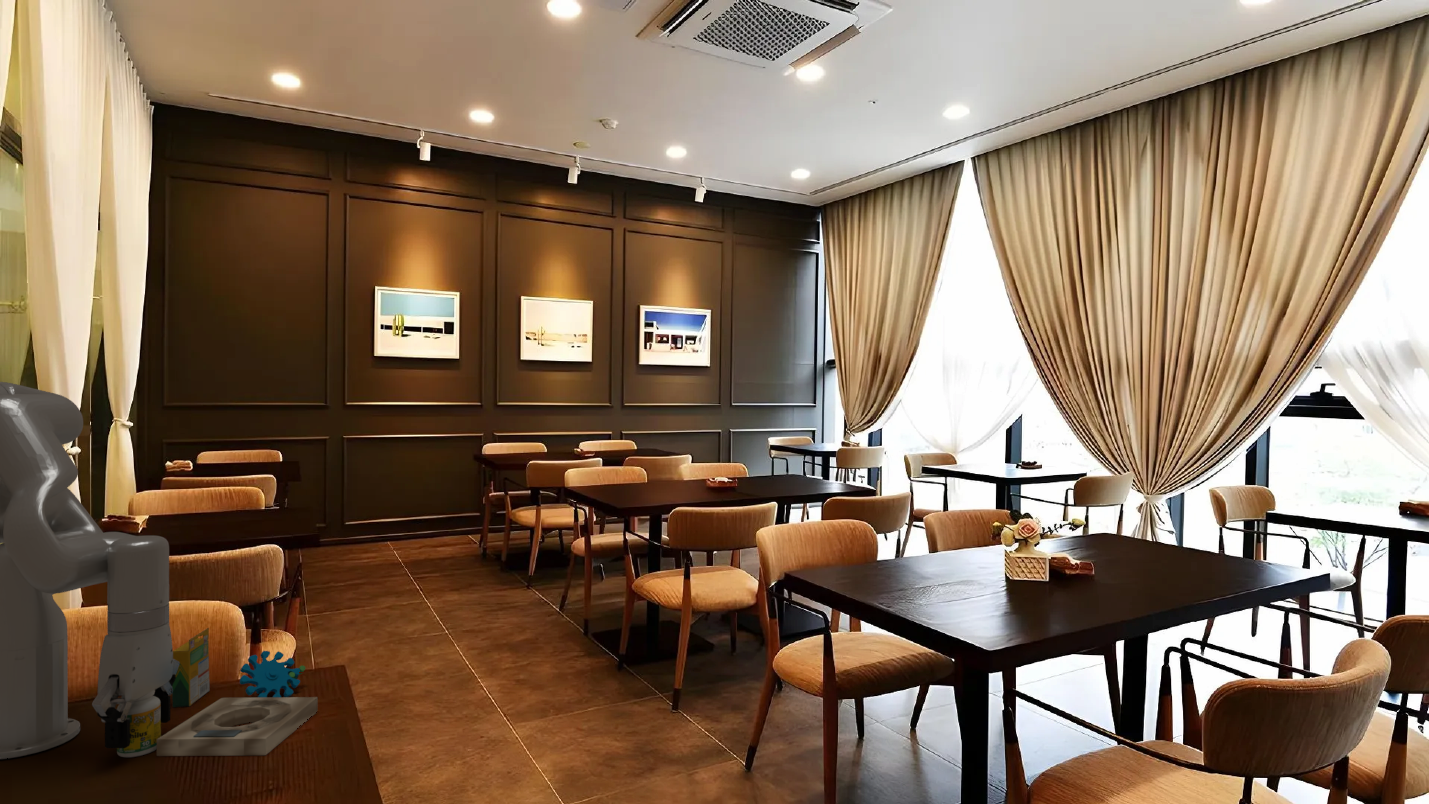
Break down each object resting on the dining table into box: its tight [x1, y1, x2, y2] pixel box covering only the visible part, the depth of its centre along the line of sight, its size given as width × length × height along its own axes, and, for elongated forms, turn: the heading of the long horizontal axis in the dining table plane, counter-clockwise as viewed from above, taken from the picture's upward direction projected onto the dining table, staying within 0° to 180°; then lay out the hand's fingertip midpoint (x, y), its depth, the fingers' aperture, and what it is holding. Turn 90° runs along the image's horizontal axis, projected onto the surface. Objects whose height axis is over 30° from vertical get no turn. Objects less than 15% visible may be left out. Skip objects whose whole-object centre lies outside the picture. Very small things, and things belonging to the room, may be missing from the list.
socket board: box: [156, 696, 319, 757], centre depth 124 cm, size 16×16×3 cm
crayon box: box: [171, 627, 210, 708], centre depth 137 cm, size 7×3×12 cm, turn 10°
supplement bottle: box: [116, 690, 162, 758], centre depth 117 cm, size 5×5×10 cm
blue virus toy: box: [239, 650, 306, 697], centre depth 139 cm, size 11×6×10 cm
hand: (138, 733), depth 117 cm, fingers open, 8 cm apart
